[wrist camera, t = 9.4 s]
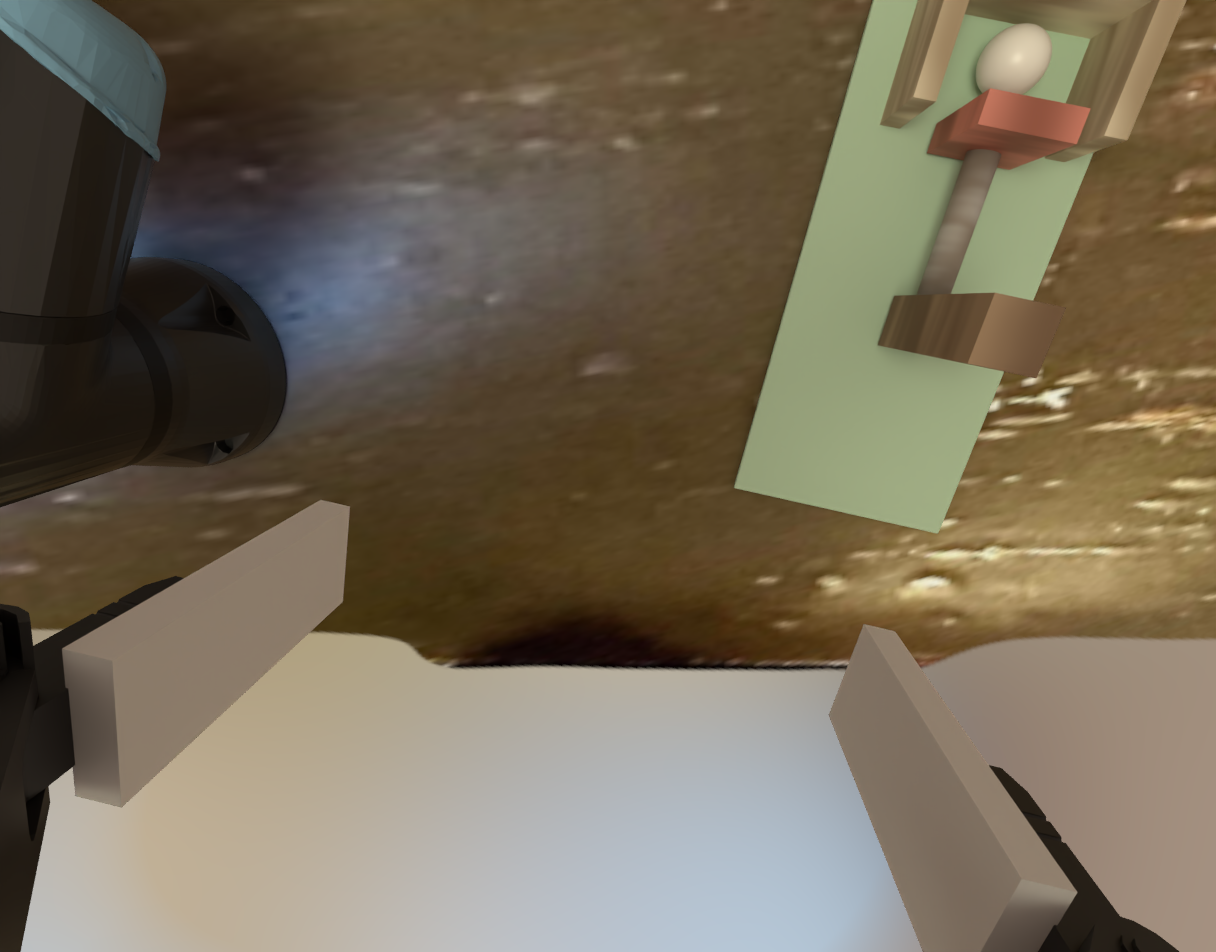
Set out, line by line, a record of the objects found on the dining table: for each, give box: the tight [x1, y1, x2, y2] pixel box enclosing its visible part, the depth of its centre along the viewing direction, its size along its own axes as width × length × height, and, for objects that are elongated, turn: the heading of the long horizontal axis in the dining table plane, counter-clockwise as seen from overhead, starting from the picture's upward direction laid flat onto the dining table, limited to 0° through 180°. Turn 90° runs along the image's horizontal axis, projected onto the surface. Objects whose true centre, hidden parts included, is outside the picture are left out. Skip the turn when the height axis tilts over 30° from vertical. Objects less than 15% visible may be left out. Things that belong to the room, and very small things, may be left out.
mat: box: [734, 0, 1094, 534], centre depth 38 cm, size 15×32×1 cm, turn 168°
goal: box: [880, 0, 1186, 162], centre depth 32 cm, size 11×7×5 cm, turn 78°
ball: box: [976, 23, 1052, 94], centre depth 32 cm, size 4×4×4 cm
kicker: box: [878, 88, 1091, 378], centre depth 31 cm, size 5×13×12 cm, turn 168°
